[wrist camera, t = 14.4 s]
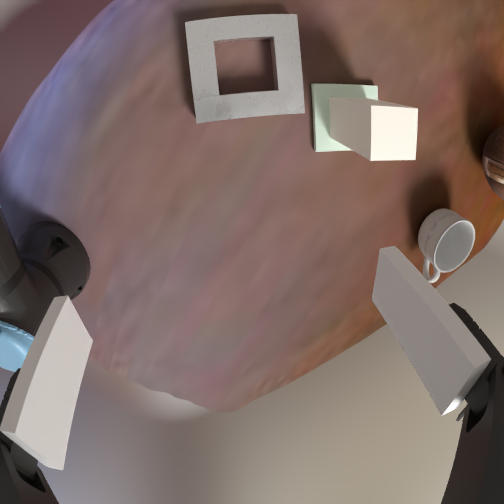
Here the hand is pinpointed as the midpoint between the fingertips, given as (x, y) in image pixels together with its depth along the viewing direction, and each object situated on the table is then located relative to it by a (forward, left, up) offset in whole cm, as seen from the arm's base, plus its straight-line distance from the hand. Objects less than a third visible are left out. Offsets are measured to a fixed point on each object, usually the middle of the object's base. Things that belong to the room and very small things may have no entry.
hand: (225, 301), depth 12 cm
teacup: (+38, -20, -34) cm, 54 cm away
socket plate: (+5, +10, -34) cm, 35 cm away
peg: (+19, +2, -33) cm, 38 cm away
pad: (+19, +2, -34) cm, 38 cm away
